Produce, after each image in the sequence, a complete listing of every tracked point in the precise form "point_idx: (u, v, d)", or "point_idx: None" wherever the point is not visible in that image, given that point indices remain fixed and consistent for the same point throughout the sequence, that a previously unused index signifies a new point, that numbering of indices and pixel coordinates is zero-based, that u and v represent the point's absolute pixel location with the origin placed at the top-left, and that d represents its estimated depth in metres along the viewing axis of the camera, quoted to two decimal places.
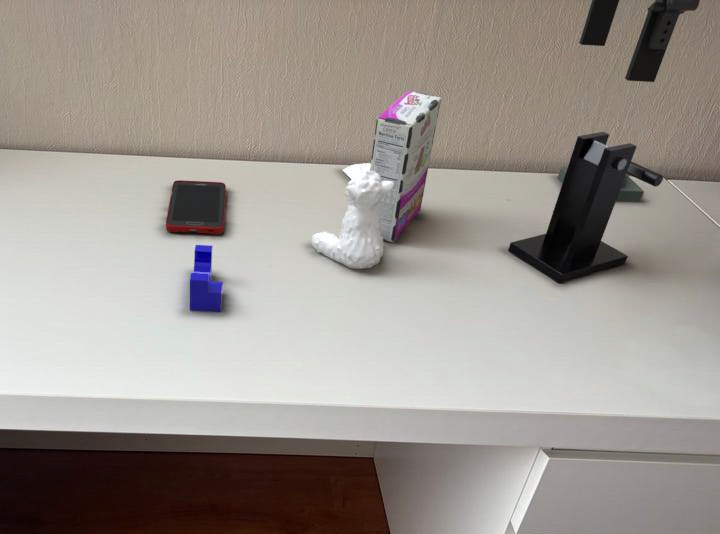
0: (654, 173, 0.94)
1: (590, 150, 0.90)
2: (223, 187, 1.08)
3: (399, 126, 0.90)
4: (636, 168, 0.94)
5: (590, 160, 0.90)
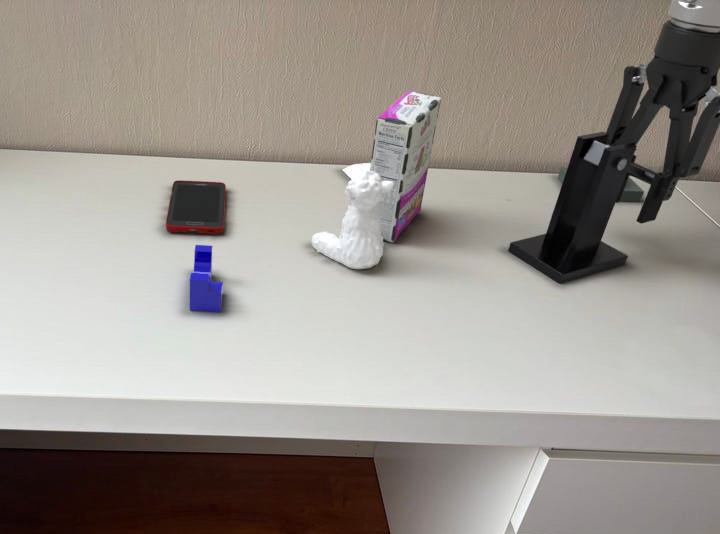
0: (654, 173, 0.94)
1: (590, 150, 0.90)
2: (223, 187, 1.08)
3: (399, 126, 0.90)
4: (636, 168, 0.94)
5: (590, 160, 0.90)
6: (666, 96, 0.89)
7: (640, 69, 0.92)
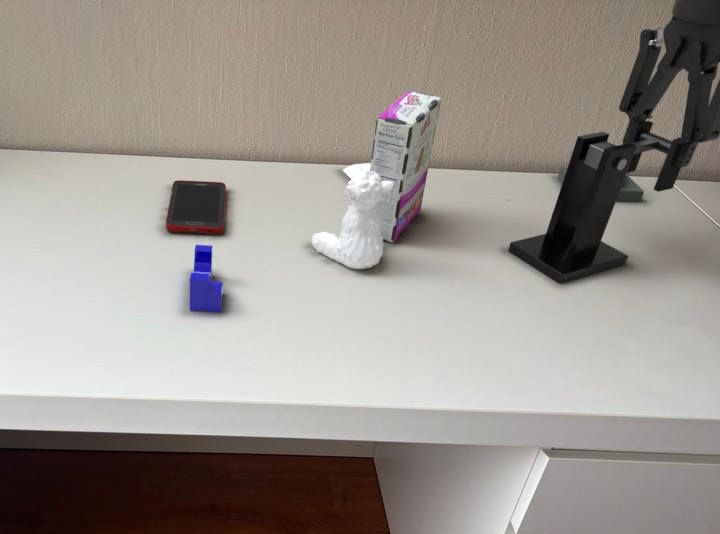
0: (668, 143, 0.92)
1: (588, 155, 0.90)
2: (223, 187, 1.08)
3: (399, 126, 0.90)
4: (646, 146, 0.92)
5: (590, 165, 0.90)
6: (684, 58, 0.87)
7: (657, 32, 0.90)
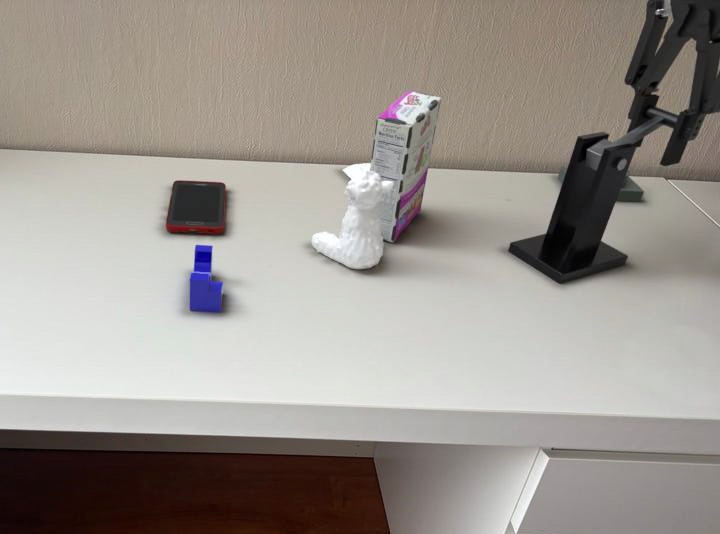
0: (674, 119, 0.90)
1: (587, 158, 0.90)
2: (223, 187, 1.08)
3: (399, 126, 0.90)
4: (651, 128, 0.90)
5: (591, 167, 0.90)
6: (692, 27, 0.85)
7: (664, 1, 0.87)
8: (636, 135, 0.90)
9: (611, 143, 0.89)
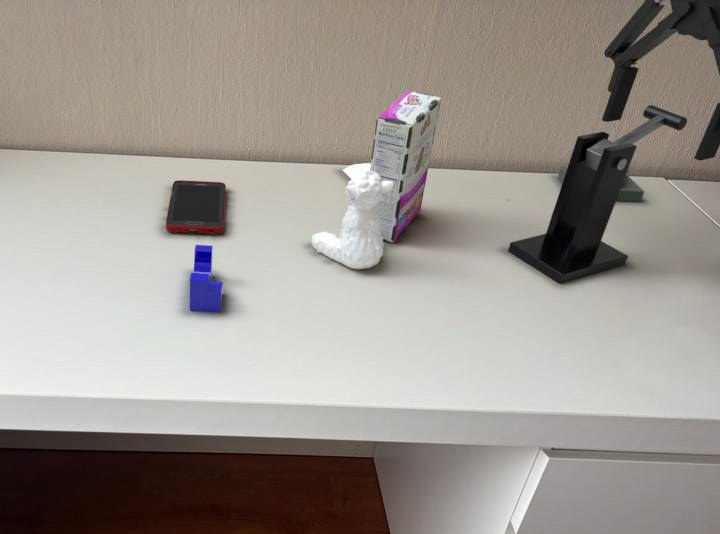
0: (674, 119, 0.90)
1: (587, 158, 0.90)
2: (223, 187, 1.08)
3: (399, 126, 0.90)
4: (651, 128, 0.90)
5: (591, 167, 0.90)
6: (692, 25, 0.85)
7: None
8: (636, 135, 0.90)
9: (611, 143, 0.89)
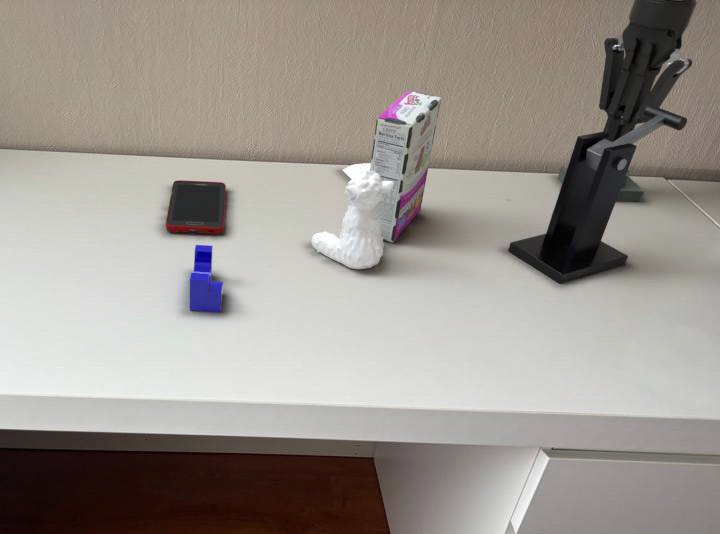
0: (674, 119, 0.90)
1: (587, 158, 0.90)
2: (223, 187, 1.08)
3: (399, 126, 0.90)
4: (651, 128, 0.90)
5: (591, 167, 0.90)
6: (639, 57, 1.04)
7: (617, 38, 1.07)
8: (636, 135, 0.90)
9: (611, 143, 0.89)
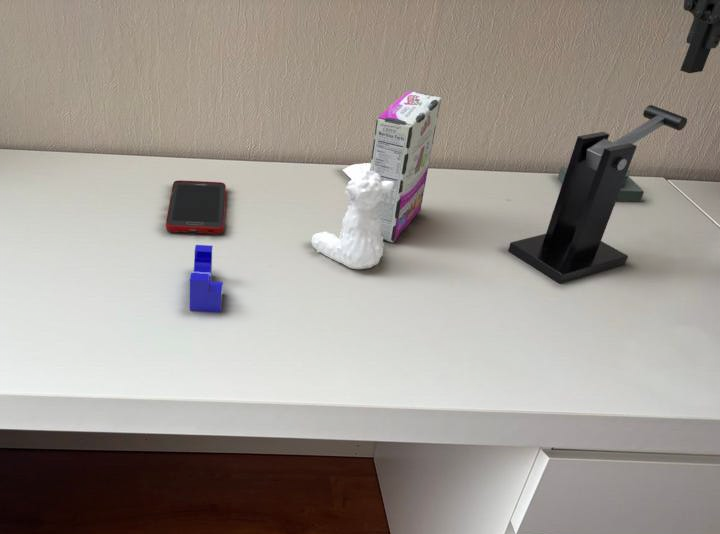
0: (674, 119, 0.90)
1: (587, 158, 0.90)
2: (223, 187, 1.08)
3: (399, 126, 0.90)
4: (651, 128, 0.90)
5: (591, 167, 0.90)
6: None
7: None
8: (636, 135, 0.90)
9: (611, 143, 0.89)
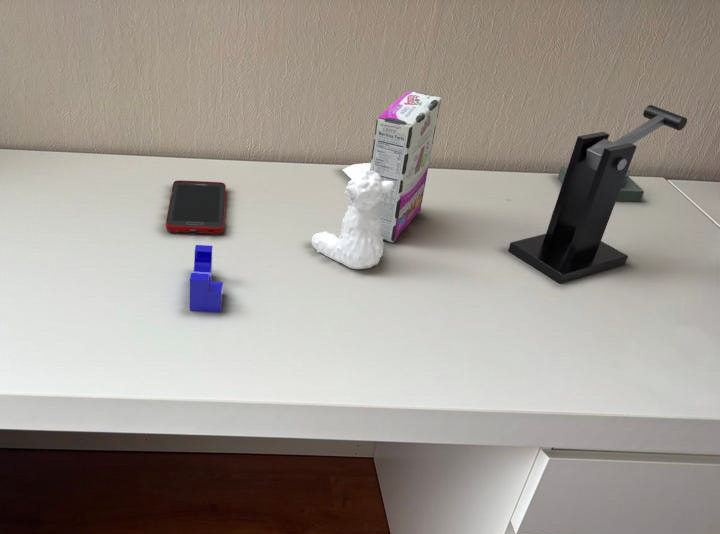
0: (674, 119, 0.90)
1: (587, 158, 0.90)
2: (223, 187, 1.08)
3: (399, 126, 0.90)
4: (651, 128, 0.90)
5: (591, 167, 0.90)
6: None
7: None
8: (636, 135, 0.90)
9: (611, 143, 0.89)
